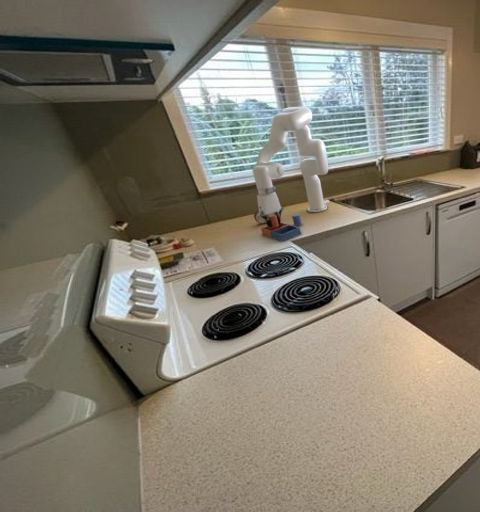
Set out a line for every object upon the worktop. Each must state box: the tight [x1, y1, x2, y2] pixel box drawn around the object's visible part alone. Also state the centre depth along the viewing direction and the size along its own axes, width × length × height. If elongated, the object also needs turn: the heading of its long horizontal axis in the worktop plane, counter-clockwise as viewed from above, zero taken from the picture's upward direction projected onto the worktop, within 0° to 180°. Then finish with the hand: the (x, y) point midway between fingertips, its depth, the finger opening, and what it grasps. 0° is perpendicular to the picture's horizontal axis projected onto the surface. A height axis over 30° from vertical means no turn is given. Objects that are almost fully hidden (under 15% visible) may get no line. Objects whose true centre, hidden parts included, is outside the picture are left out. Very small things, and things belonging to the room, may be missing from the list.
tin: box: [253, 209, 282, 225], centre depth 173 cm, size 15×3×8 cm, turn 121°
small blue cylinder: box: [291, 213, 303, 227], centre depth 165 cm, size 4×4×6 cm
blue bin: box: [271, 224, 302, 242], centre depth 152 cm, size 11×9×4 cm
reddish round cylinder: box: [269, 214, 279, 228], centre depth 155 cm, size 4×4×6 cm
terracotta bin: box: [260, 221, 290, 239], centre depth 158 cm, size 11×9×4 cm
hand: (274, 224), depth 156 cm, fingers closed on reddish round cylinder, 4 cm apart
